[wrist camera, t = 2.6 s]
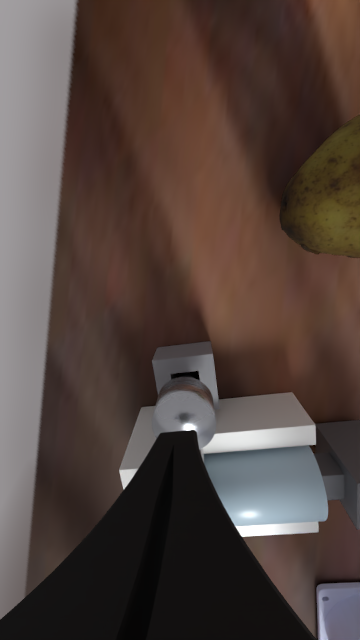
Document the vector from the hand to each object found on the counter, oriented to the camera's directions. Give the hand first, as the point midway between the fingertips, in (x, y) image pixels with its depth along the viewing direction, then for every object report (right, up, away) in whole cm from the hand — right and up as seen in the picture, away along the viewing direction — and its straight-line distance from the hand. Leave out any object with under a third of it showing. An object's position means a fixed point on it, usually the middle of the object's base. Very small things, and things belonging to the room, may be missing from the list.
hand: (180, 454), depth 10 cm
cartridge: (+6, -4, +8) cm, 10 cm away
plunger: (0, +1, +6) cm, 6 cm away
